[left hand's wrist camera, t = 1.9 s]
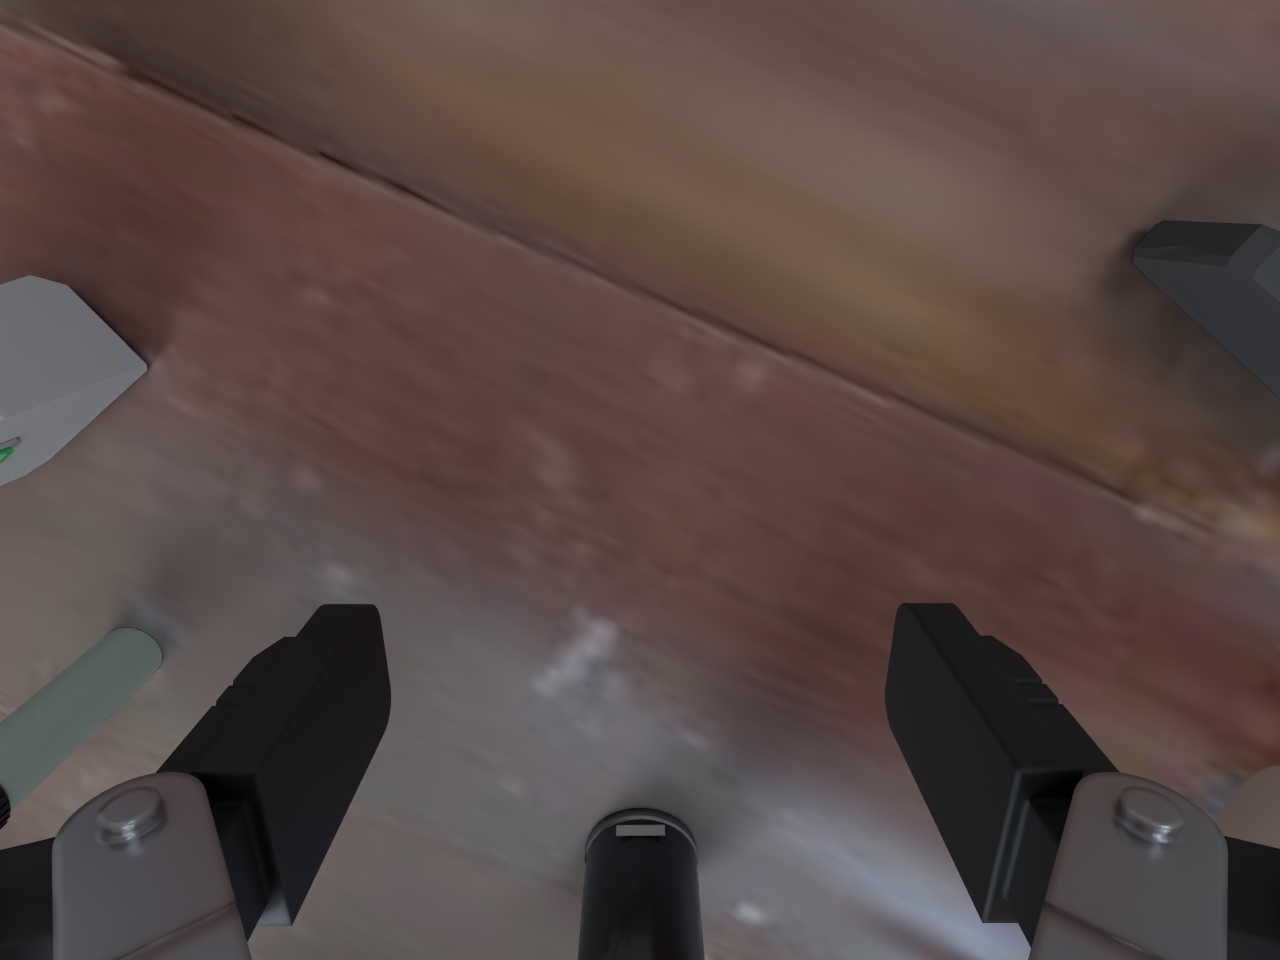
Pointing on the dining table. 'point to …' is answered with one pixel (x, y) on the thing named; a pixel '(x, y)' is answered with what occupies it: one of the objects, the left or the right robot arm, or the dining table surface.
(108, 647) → the pale green tube
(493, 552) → the dining table surface
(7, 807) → the lid
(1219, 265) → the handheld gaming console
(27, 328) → the electronic device
